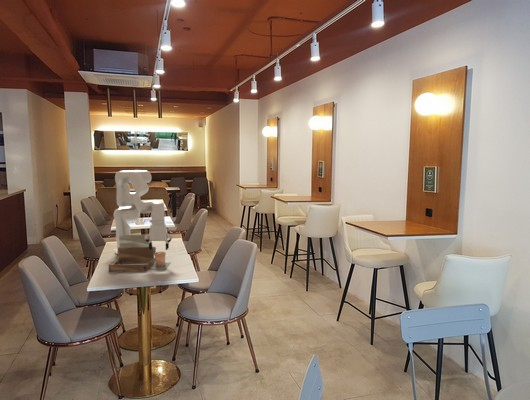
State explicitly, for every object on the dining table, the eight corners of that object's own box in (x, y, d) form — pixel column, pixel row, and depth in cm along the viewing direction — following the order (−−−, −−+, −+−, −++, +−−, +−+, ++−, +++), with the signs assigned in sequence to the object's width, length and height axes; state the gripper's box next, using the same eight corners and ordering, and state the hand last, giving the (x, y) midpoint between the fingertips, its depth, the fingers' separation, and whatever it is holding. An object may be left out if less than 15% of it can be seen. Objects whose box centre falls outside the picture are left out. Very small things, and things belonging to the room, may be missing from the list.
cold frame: (119, 262, 251) (117, 235, 249) (154, 261, 252) (152, 234, 250) (108, 271, 232) (106, 241, 230) (146, 270, 233) (144, 241, 231)
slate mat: (154, 263, 250) (154, 262, 249) (170, 262, 250) (170, 262, 250) (149, 269, 236) (149, 269, 236) (166, 269, 236) (166, 268, 236)
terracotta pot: (156, 264, 246) (155, 251, 245) (167, 264, 246) (166, 251, 245) (153, 267, 239) (153, 254, 238) (164, 267, 240) (164, 254, 239)
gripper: (142, 223, 236) (143, 251, 238) (171, 223, 236) (171, 251, 239) (145, 220, 243) (146, 247, 245) (173, 221, 244) (174, 247, 246)
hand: (158, 249), depth 242 cm, fingers open, 9 cm apart
